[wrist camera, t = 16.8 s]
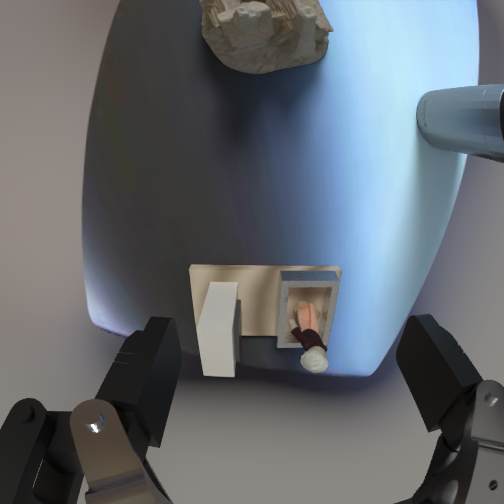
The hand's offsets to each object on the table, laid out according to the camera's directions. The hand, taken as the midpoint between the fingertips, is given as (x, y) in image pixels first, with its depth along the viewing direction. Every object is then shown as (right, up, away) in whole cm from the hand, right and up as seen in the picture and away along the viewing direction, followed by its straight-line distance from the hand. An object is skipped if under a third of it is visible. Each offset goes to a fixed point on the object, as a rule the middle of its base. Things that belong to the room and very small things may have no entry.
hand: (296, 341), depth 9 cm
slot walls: (+7, -5, +33) cm, 34 cm away
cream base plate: (+1, -5, +35) cm, 35 cm away
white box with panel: (-5, -5, +33) cm, 34 cm away
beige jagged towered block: (0, +33, +19) cm, 38 cm away
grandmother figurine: (+7, -6, +34) cm, 35 cm away
